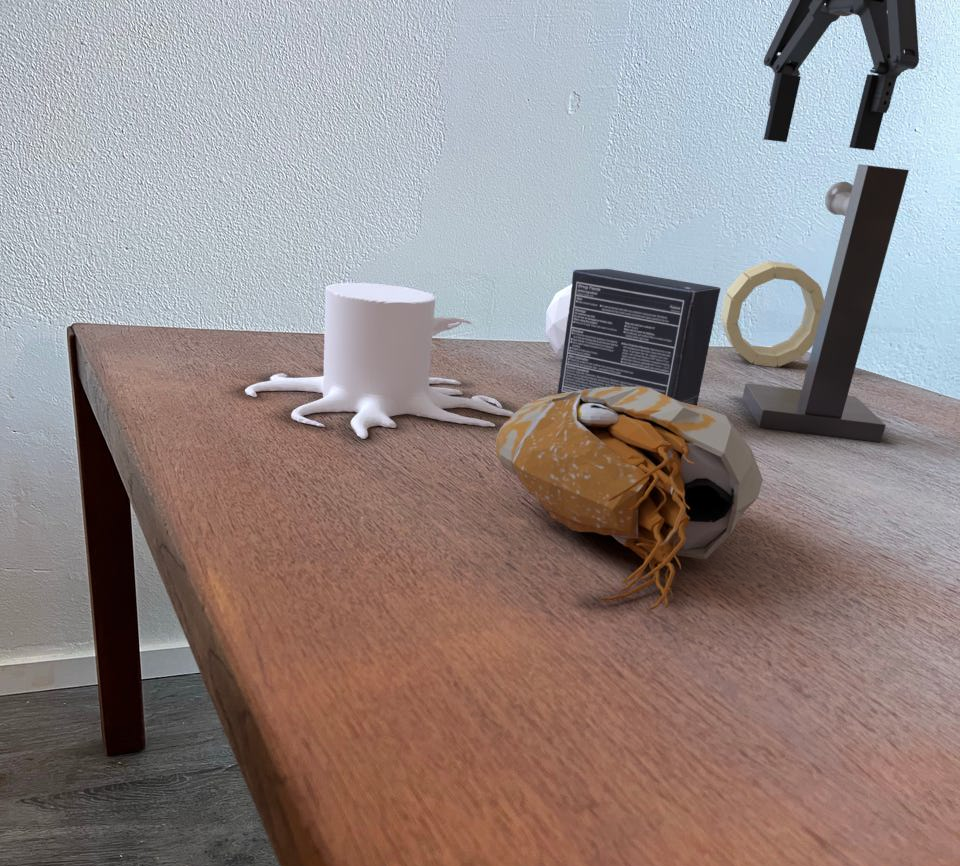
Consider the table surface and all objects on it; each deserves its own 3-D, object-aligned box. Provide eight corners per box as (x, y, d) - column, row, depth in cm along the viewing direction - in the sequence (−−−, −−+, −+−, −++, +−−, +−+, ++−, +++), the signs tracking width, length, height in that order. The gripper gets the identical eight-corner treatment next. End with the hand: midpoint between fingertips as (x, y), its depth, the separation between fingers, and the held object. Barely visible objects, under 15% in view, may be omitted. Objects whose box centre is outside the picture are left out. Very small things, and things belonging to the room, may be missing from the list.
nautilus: (773, 665, 45) (447, 629, 46) (739, 490, 63) (506, 468, 65) (809, 502, 41) (451, 469, 42) (762, 366, 59) (513, 346, 61)
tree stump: (544, 431, 74) (559, 320, 70) (292, 441, 65) (293, 315, 62) (436, 367, 89) (444, 273, 85) (221, 369, 81) (218, 264, 77)
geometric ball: (592, 388, 100) (649, 328, 98) (570, 371, 93) (631, 306, 90) (543, 337, 102) (598, 277, 100) (518, 317, 94) (577, 251, 92)
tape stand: (841, 402, 93) (904, 169, 84) (880, 442, 81) (959, 175, 72) (736, 389, 94) (787, 156, 84) (759, 427, 81) (821, 160, 72)
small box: (699, 416, 83) (725, 285, 78) (669, 429, 78) (696, 291, 73) (587, 389, 87) (606, 264, 83) (552, 400, 82) (570, 268, 78)
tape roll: (802, 362, 110) (826, 267, 105) (811, 371, 105) (836, 273, 101) (713, 351, 110) (732, 256, 105) (718, 360, 106) (739, 261, 101)
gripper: (760, -90, 104) (717, 134, 114) (945, -125, 85) (875, 149, 95) (814, -76, 107) (768, 140, 117) (1005, -108, 88) (931, 156, 98)
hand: (816, 145), depth 106 cm, fingers open, 13 cm apart
